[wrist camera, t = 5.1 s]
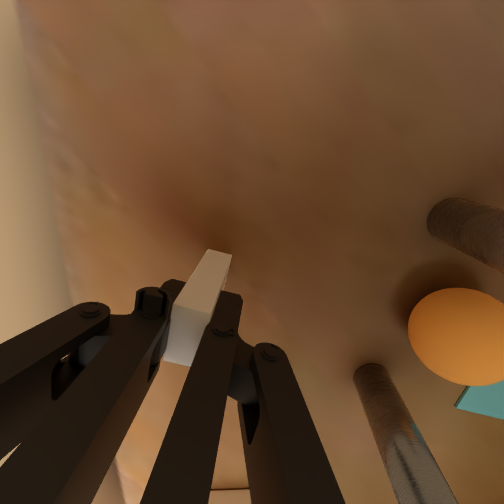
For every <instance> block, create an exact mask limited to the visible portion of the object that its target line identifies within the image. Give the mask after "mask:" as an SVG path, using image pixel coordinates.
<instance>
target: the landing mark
mask: <svg viewBox="0 0 504 504" xmlns="http://www.w3.org/2000/svg"><path fill="white" fill-rule="evenodd" d="M455 407H456V408H458V409H462V410H466V411H470V412H474V413H478V414H483V415H487V416H491V417H495V418H499V419H503V420H504V380H502V381H500V382H498V383H495V384H491V385H486V386H467V388H466V389H465V391H464V392H463V394H462V395H461V397H460V398H459V400H458V401H457V403H456V404H455Z"/></svg>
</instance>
